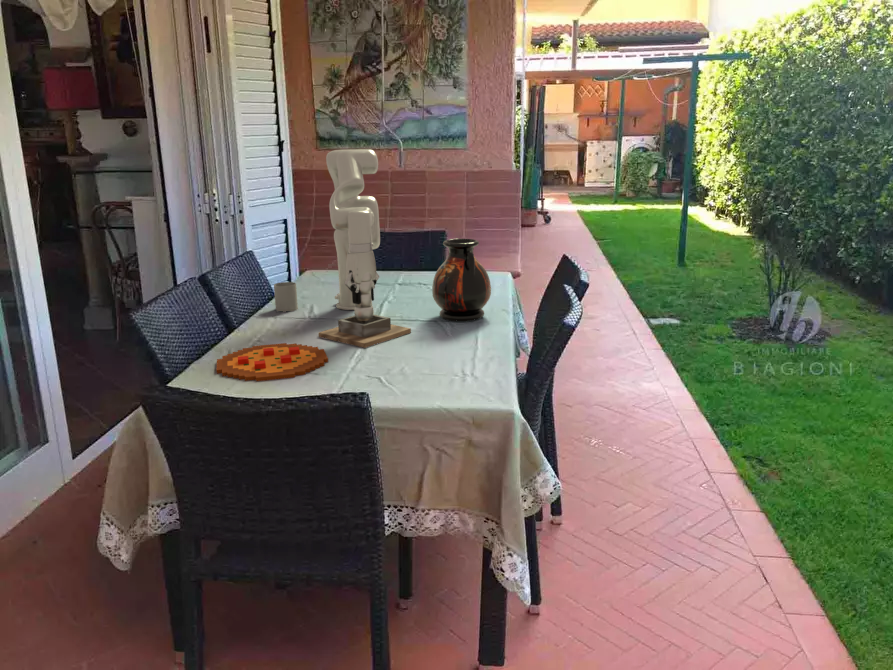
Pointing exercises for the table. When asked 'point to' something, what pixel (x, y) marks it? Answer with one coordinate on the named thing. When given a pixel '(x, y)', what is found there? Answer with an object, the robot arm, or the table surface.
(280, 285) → the cup
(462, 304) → the amphora vase
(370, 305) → the plastic bottle
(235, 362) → the pizza
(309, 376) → the table surface
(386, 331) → the collar board
